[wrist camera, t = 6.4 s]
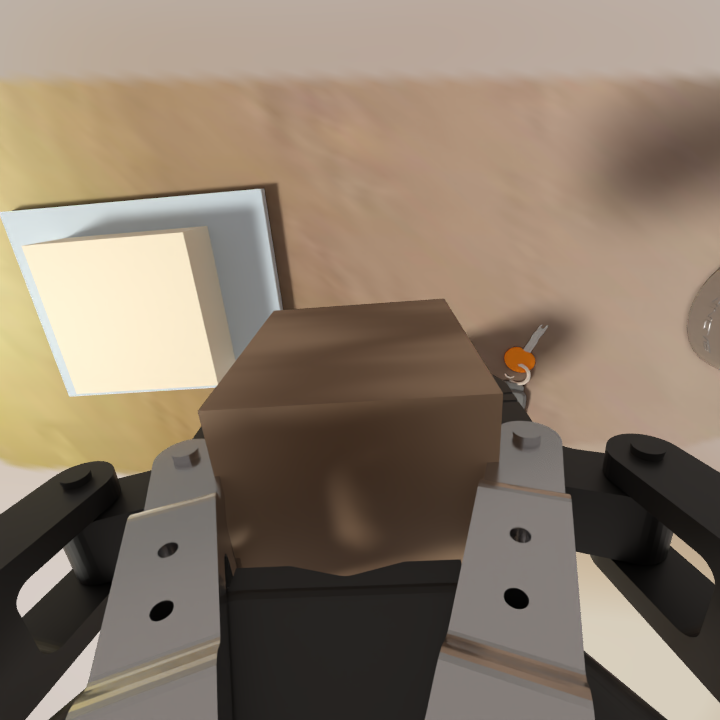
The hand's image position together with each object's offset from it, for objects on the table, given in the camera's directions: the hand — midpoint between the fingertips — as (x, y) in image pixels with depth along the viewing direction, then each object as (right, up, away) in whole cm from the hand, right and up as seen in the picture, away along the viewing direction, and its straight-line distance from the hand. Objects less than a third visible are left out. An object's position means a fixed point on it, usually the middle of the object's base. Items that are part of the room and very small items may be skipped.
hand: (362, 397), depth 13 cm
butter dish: (-15, +6, +19) cm, 25 cm away
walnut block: (0, 0, +1) cm, 1 cm away
